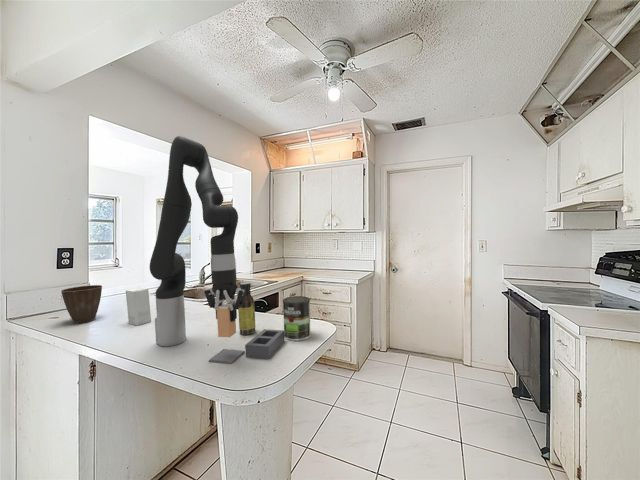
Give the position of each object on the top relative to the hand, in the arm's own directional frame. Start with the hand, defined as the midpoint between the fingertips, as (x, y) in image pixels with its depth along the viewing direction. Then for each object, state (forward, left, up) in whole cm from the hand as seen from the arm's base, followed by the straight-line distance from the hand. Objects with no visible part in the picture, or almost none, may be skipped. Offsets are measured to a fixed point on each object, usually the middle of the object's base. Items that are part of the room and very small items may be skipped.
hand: (226, 320), depth 90 cm
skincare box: (-61, +25, -12) cm, 67 cm away
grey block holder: (+10, +8, -12) cm, 17 cm away
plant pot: (-91, +23, -12) cm, 95 cm away
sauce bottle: (-4, +21, -12) cm, 24 cm away
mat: (0, 0, -12) cm, 12 cm away
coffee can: (+17, +21, -12) cm, 29 cm away
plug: (0, 0, -5) cm, 5 cm away
